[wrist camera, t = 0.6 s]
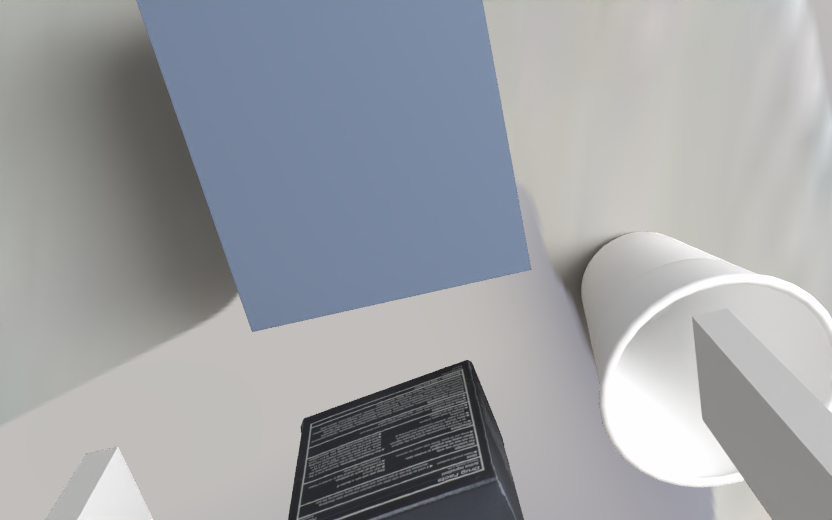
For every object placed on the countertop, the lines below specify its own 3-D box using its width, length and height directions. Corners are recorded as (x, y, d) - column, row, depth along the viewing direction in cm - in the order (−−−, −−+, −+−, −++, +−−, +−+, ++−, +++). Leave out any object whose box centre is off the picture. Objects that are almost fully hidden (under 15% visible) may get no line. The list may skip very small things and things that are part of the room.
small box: (343, 501, 44) (331, 650, 34) (299, 417, 42) (271, 551, 32) (507, 444, 43) (542, 581, 33) (470, 355, 40) (496, 474, 31)
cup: (507, 278, 39) (550, 384, 29) (656, 155, 37) (761, 223, 26) (615, 393, 42) (690, 527, 31) (760, 285, 40) (890, 392, 29)
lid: (168, -15, 30) (131, -15, 25) (453, -86, 29) (464, -98, 25) (269, 288, 35) (252, 332, 30) (513, 233, 34) (531, 269, 30)
